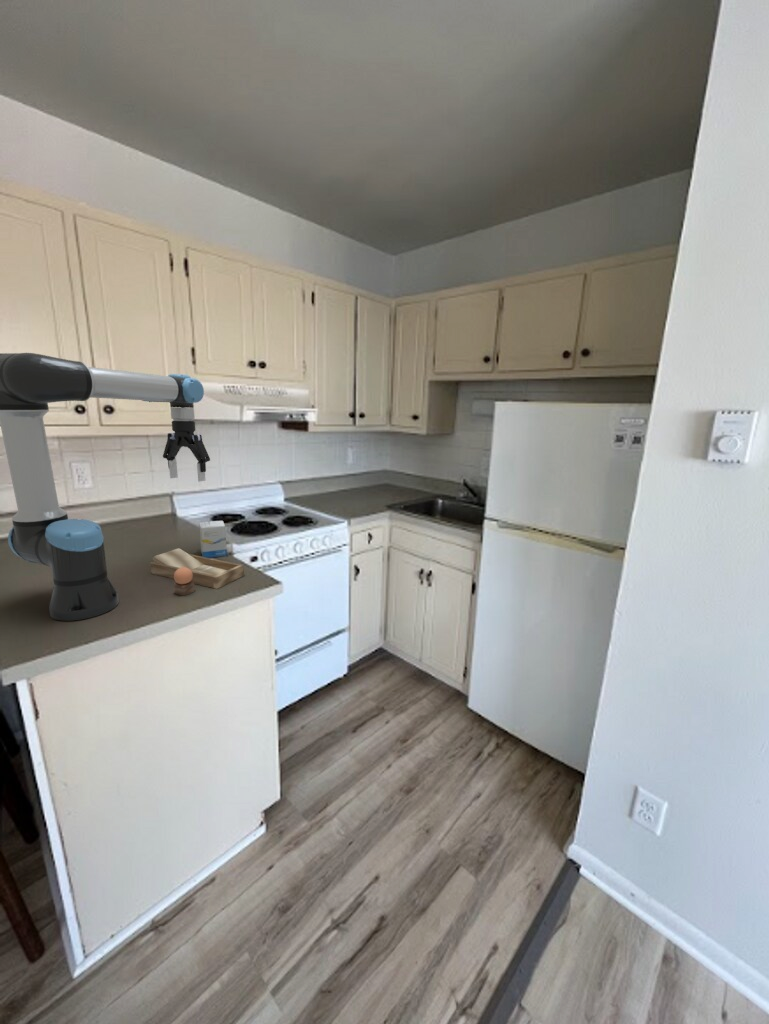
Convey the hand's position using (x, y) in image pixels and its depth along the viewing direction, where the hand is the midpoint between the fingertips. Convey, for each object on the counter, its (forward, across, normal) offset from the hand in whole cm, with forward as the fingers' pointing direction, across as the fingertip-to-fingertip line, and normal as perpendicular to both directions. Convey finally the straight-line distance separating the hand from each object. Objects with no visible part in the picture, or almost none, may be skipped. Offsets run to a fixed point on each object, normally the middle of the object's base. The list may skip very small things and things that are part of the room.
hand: (187, 479), depth 156 cm
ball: (+22, -27, +29) cm, 46 cm away
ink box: (+28, -10, -1) cm, 29 cm away
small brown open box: (+27, -27, +29) cm, 49 cm away
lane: (+28, -20, +17) cm, 38 cm away
